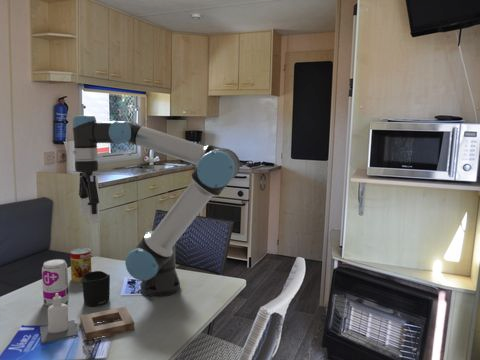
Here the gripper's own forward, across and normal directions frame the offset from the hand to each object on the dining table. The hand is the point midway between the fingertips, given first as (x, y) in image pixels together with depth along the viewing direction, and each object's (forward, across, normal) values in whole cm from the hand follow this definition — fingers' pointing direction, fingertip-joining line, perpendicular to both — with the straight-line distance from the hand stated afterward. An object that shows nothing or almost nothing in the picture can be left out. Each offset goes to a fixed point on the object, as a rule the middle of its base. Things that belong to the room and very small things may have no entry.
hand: (89, 219), depth 144 cm
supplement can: (+30, -4, -12) cm, 33 cm away
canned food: (+30, -23, 0) cm, 38 cm away
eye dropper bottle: (+30, +19, -15) cm, 38 cm away
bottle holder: (+30, +23, -1) cm, 38 cm away
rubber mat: (+30, +19, -15) cm, 38 cm away
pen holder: (+30, +3, 0) cm, 31 cm away
